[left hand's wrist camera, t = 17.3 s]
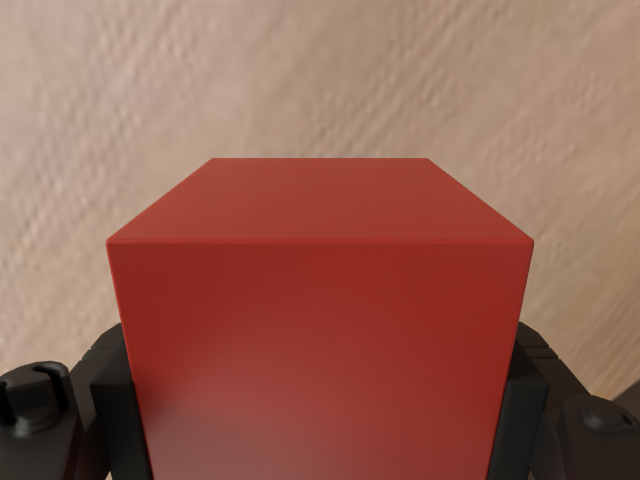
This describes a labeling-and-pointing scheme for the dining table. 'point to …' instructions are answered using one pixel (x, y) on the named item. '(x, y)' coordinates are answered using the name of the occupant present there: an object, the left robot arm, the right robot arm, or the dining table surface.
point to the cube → (319, 321)
